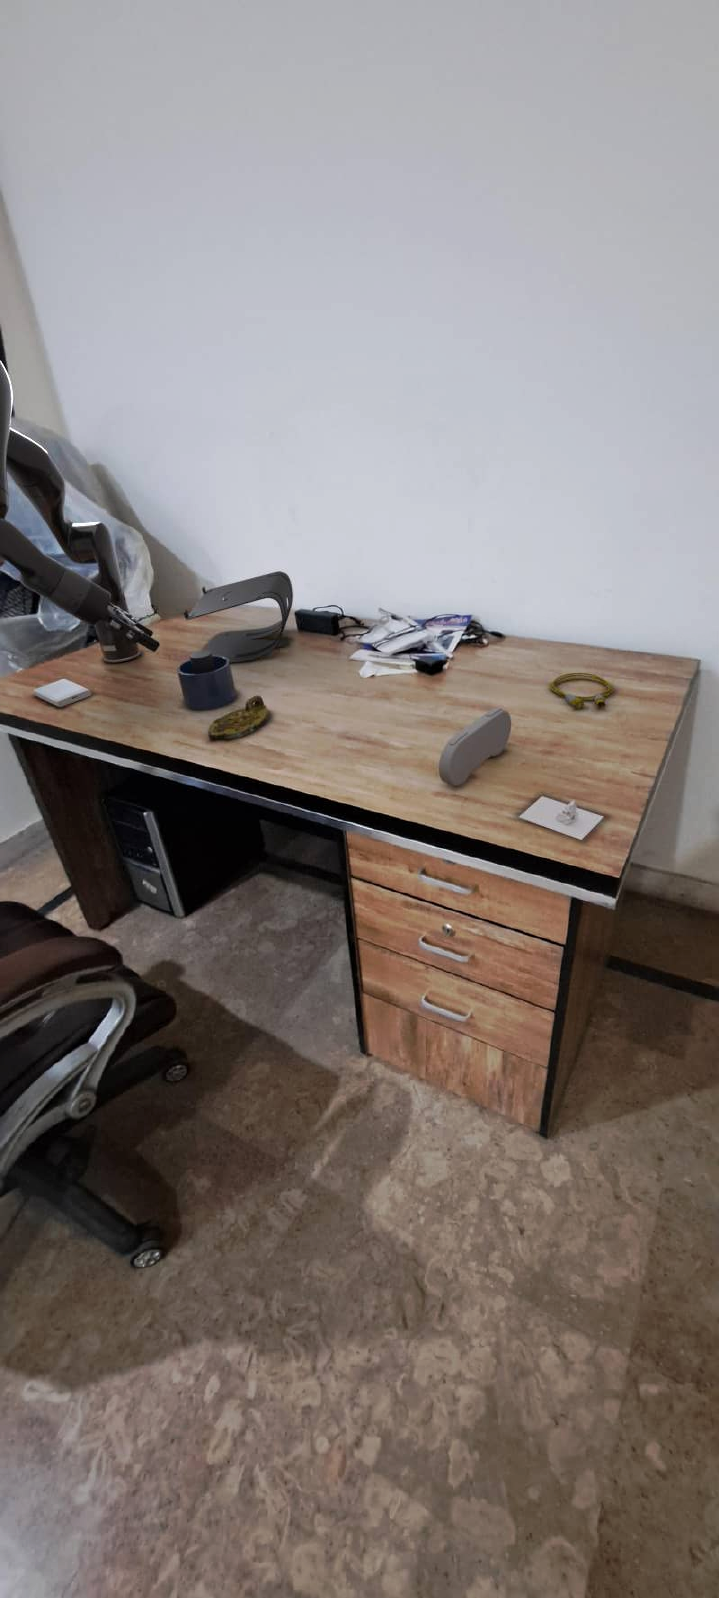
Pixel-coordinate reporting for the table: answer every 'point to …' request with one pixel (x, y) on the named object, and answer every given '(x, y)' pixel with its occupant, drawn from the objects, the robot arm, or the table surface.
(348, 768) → the table surface
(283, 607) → the laptop stand
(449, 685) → the table surface
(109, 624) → the robot arm
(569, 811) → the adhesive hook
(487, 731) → the game controller
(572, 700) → the extension cord
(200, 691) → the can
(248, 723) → the bronze pendant
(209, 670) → the canister
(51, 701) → the hard drive
